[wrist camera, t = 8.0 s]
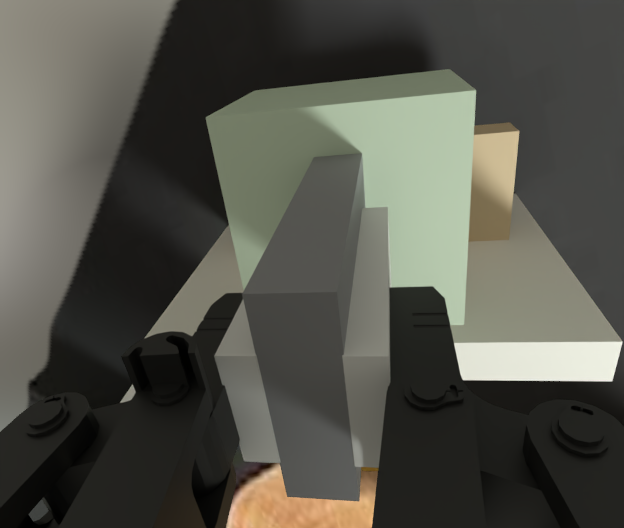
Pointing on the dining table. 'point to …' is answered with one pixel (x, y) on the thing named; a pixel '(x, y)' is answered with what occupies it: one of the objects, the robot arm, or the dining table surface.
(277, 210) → the green block with handle
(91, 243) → the dining table surface
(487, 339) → the wall board
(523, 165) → the dining table surface
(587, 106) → the dining table surface
